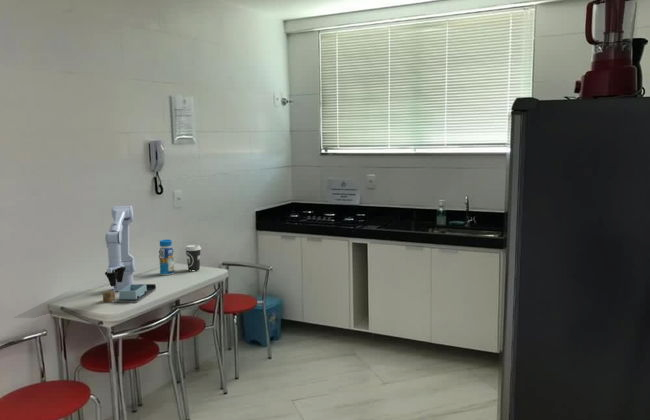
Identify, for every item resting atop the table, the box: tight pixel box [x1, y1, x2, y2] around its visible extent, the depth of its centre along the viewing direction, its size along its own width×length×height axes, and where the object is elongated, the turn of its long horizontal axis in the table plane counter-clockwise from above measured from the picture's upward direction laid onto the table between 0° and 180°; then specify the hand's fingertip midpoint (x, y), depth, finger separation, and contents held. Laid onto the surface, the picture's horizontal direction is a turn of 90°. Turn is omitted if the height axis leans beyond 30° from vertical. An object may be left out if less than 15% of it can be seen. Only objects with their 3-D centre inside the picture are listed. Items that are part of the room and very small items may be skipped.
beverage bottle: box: [158, 239, 175, 276], centre depth 302 cm, size 8×8×20 cm
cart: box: [118, 283, 147, 299], centre depth 255 cm, size 10×12×4 cm
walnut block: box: [102, 290, 116, 303], centre depth 251 cm, size 4×4×4 cm
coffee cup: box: [184, 244, 202, 272], centre depth 310 cm, size 10×10×15 cm
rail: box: [116, 283, 157, 304], centre depth 259 cm, size 10×22×3 cm, turn 175°
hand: (116, 284), depth 249 cm, fingers open, 7 cm apart
